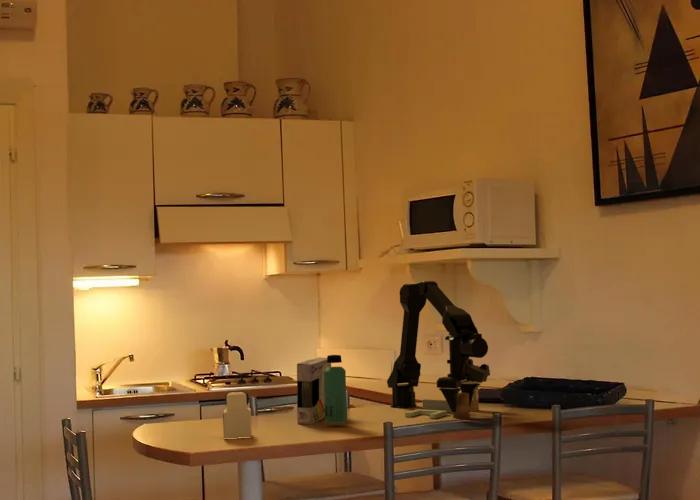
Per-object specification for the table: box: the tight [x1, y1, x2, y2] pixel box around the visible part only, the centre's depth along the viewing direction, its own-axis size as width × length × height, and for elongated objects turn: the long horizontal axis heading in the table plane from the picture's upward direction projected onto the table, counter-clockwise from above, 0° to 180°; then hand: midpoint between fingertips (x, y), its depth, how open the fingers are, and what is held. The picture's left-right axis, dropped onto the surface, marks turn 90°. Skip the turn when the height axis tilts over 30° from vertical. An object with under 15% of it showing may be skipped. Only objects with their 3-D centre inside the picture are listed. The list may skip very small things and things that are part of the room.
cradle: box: [404, 408, 448, 419], centre depth 285 cm, size 10×8×1 cm
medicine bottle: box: [222, 390, 253, 439], centre depth 256 cm, size 7×7×12 cm
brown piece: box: [452, 392, 471, 420], centre depth 280 cm, size 5×5×7 cm
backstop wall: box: [422, 398, 453, 414], centre depth 293 cm, size 11×1×4 cm, turn 57°
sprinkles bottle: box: [469, 386, 480, 412], centre depth 295 cm, size 5×5×13 cm
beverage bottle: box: [324, 354, 349, 424], centre depth 270 cm, size 6×7×20 cm
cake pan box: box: [296, 356, 332, 425], centre depth 284 cm, size 19×5×18 cm, turn 162°
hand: (461, 409), depth 280 cm, fingers open, 9 cm apart
